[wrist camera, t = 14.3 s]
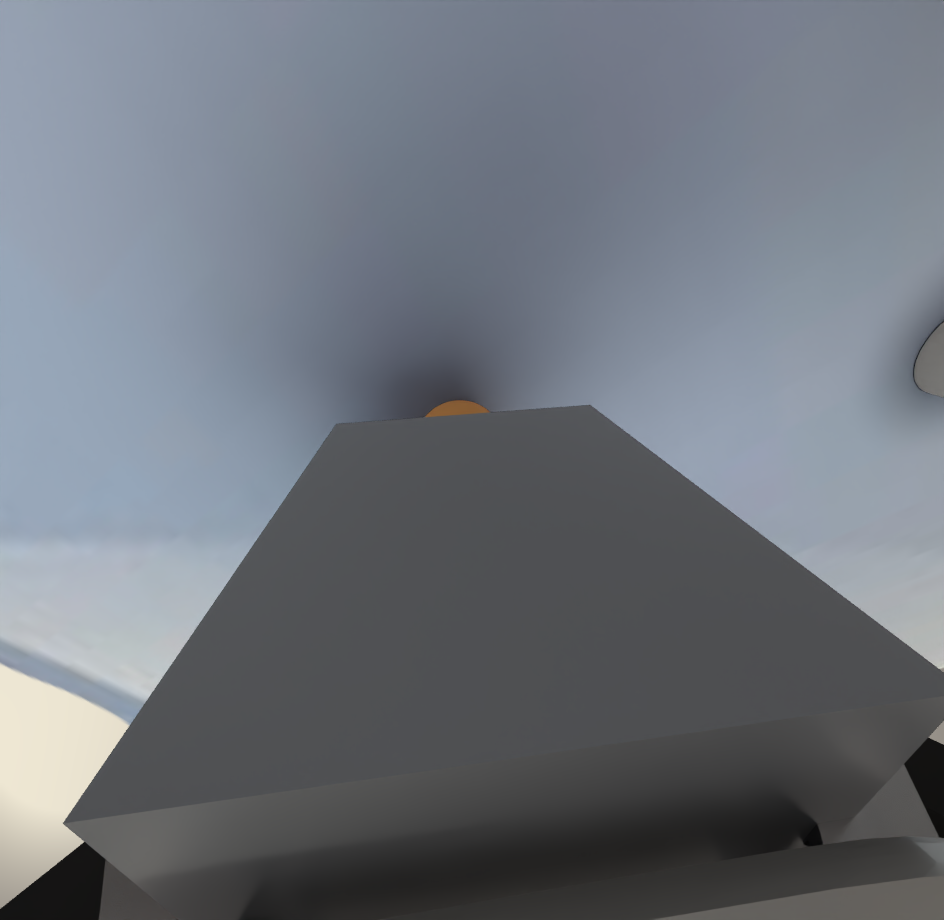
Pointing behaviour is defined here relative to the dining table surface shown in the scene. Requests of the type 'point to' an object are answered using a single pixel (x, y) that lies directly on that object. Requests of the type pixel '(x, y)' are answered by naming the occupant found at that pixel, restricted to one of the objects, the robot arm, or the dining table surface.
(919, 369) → the coffee cup
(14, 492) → the dining table surface
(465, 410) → the ball
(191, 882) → the grey cubic block
